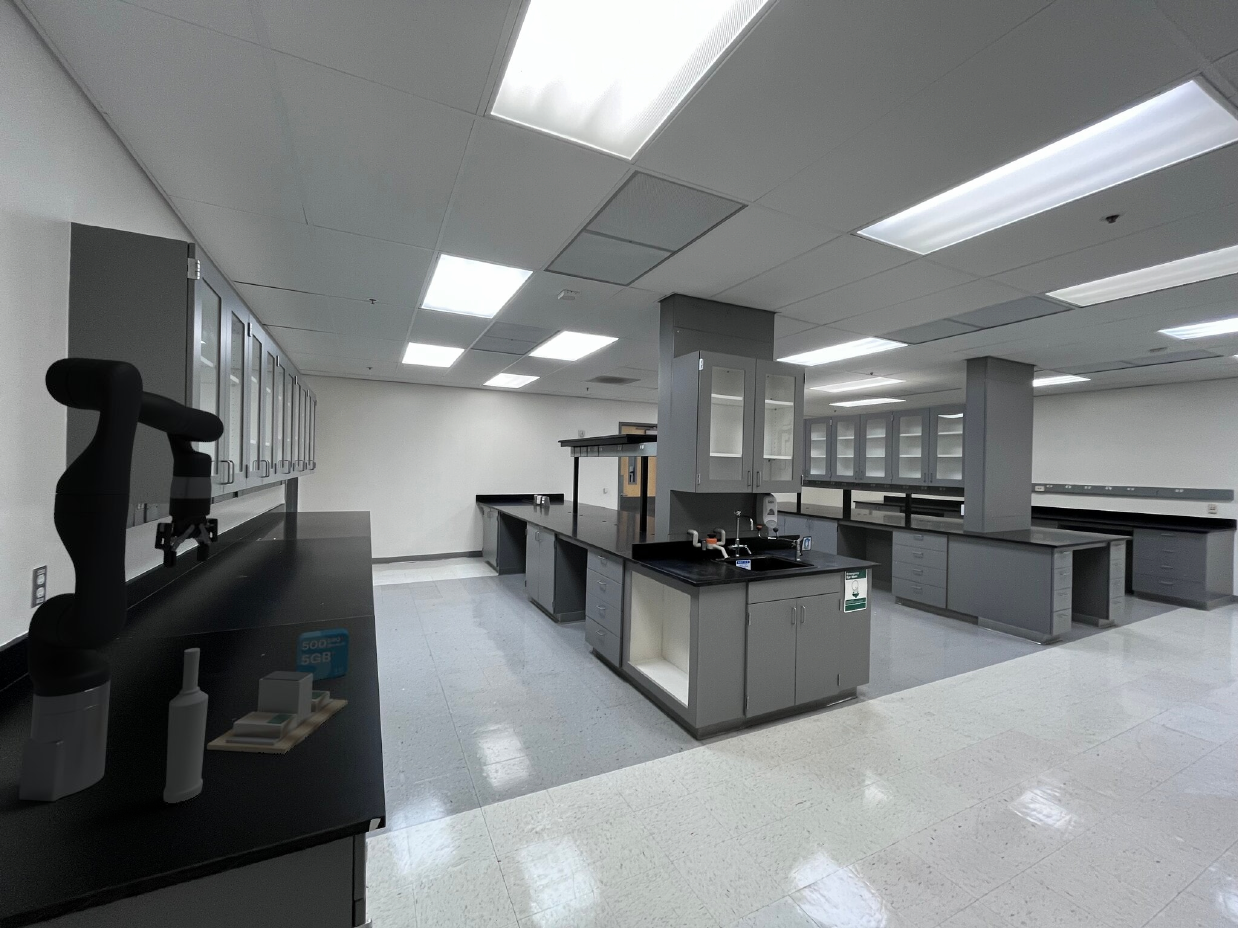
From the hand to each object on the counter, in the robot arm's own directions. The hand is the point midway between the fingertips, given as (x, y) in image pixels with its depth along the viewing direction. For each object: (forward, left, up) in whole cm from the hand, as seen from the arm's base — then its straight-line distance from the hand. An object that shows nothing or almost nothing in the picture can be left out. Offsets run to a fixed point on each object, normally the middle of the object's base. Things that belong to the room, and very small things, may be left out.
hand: (186, 564), depth 119 cm
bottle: (-31, -30, -33) cm, 54 cm away
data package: (+20, -22, -33) cm, 45 cm away
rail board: (-6, -30, -33) cm, 45 cm away
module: (-6, -30, -32) cm, 44 cm away
